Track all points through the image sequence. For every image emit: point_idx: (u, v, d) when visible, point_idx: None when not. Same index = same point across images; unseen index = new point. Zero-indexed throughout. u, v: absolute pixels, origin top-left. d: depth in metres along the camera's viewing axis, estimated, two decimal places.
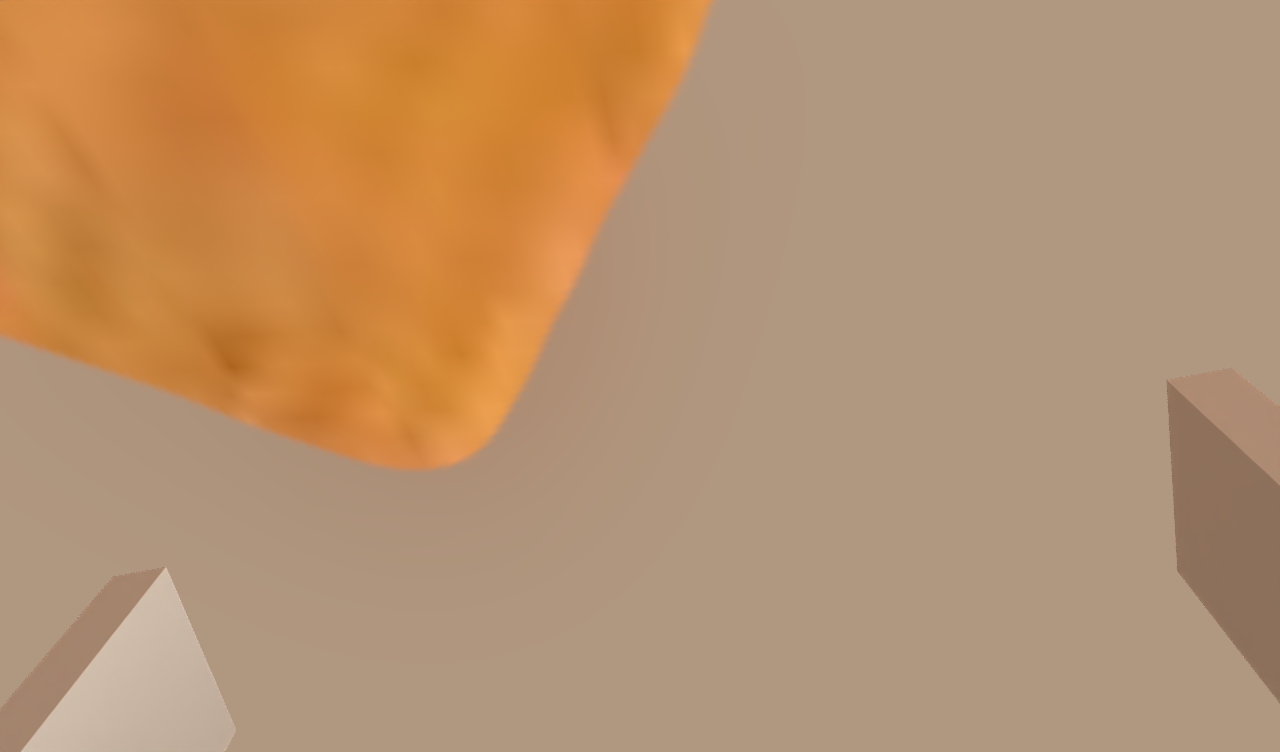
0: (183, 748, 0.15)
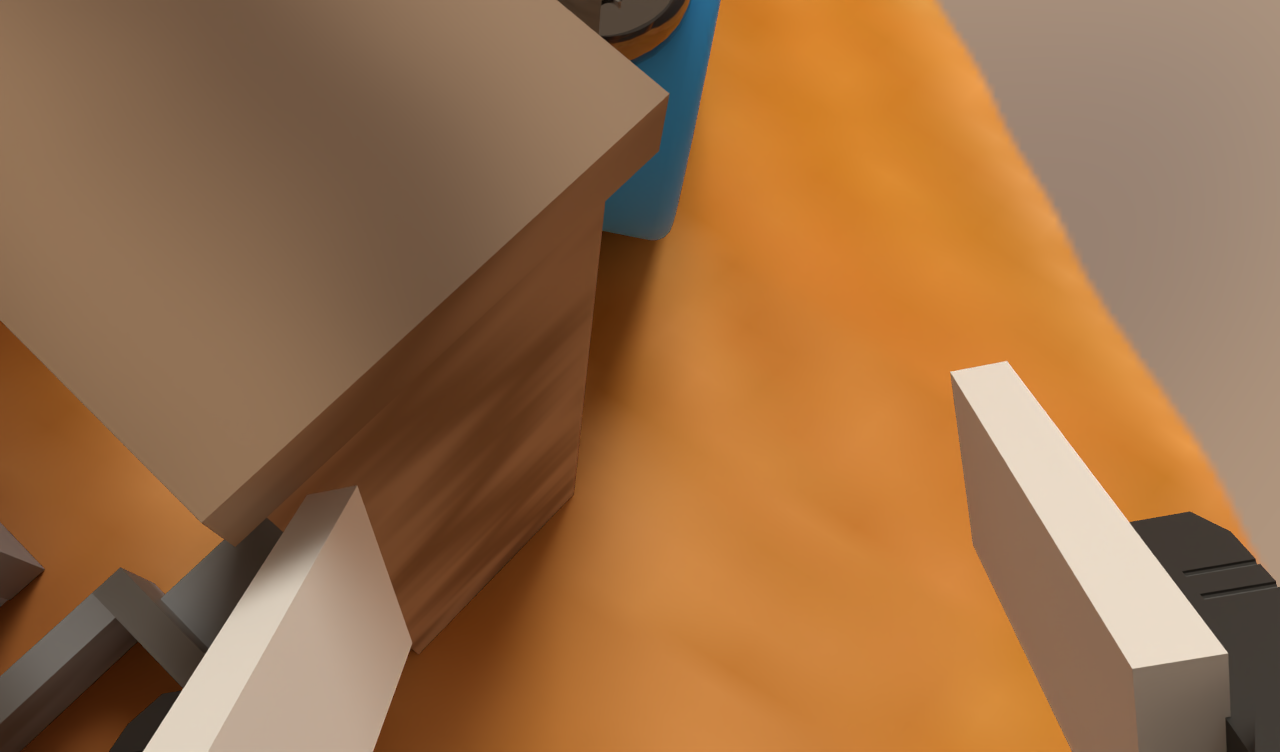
0: (378, 651, 0.16)
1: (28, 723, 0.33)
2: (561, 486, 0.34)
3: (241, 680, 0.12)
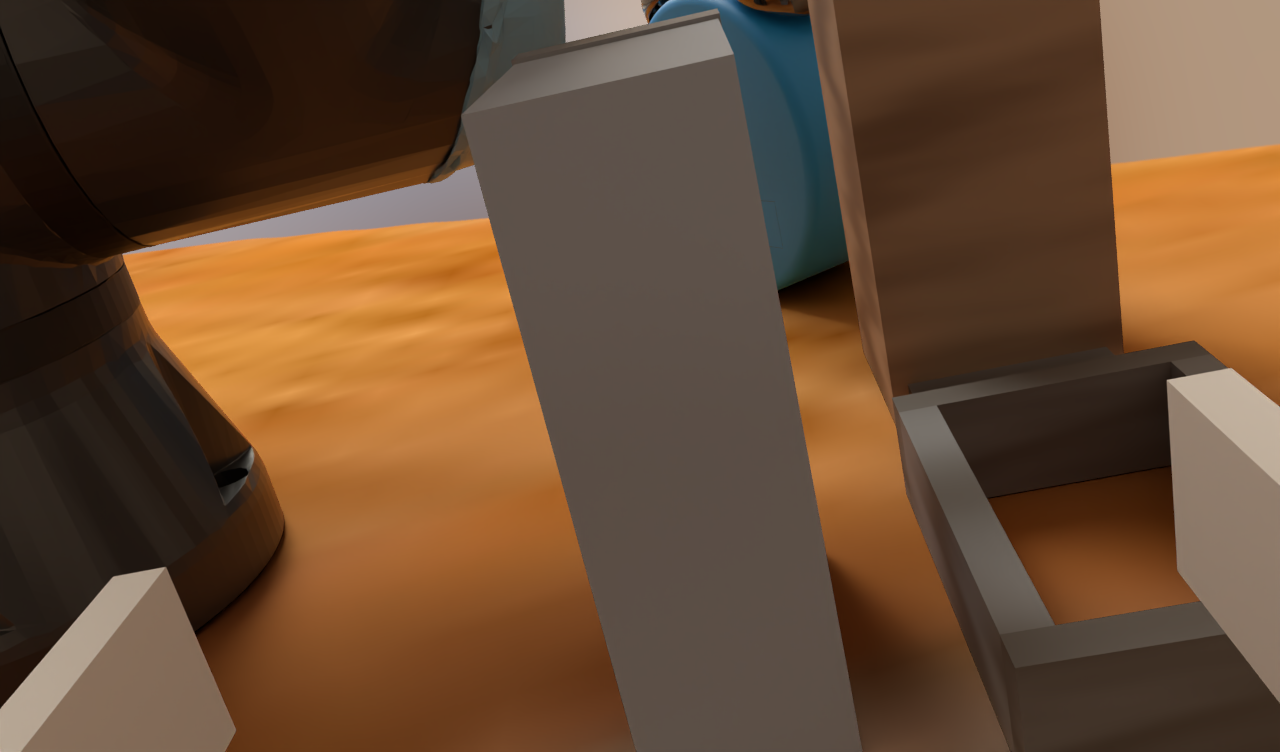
0: (183, 748, 0.15)
1: None
2: None
3: None
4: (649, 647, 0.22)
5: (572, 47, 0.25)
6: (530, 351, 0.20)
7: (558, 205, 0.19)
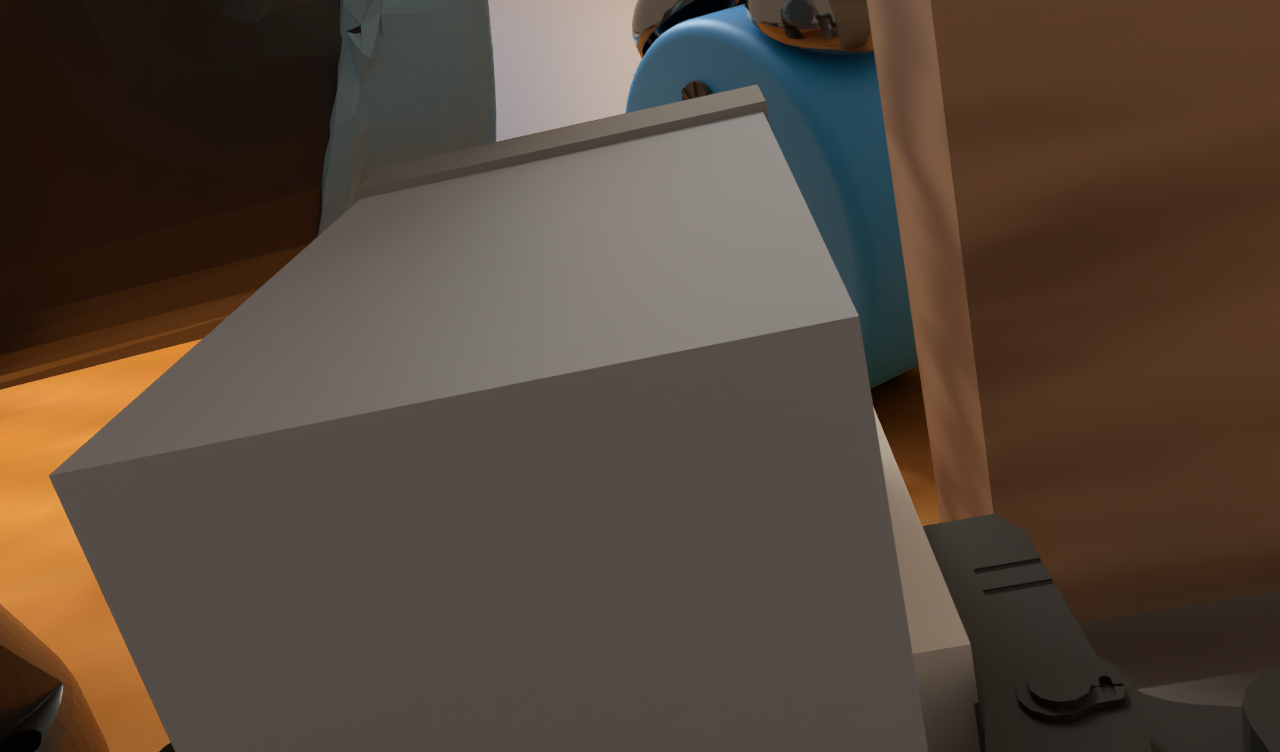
0: None
1: None
2: None
3: None
4: None
5: (473, 166, 0.12)
6: None
7: (350, 702, 0.07)
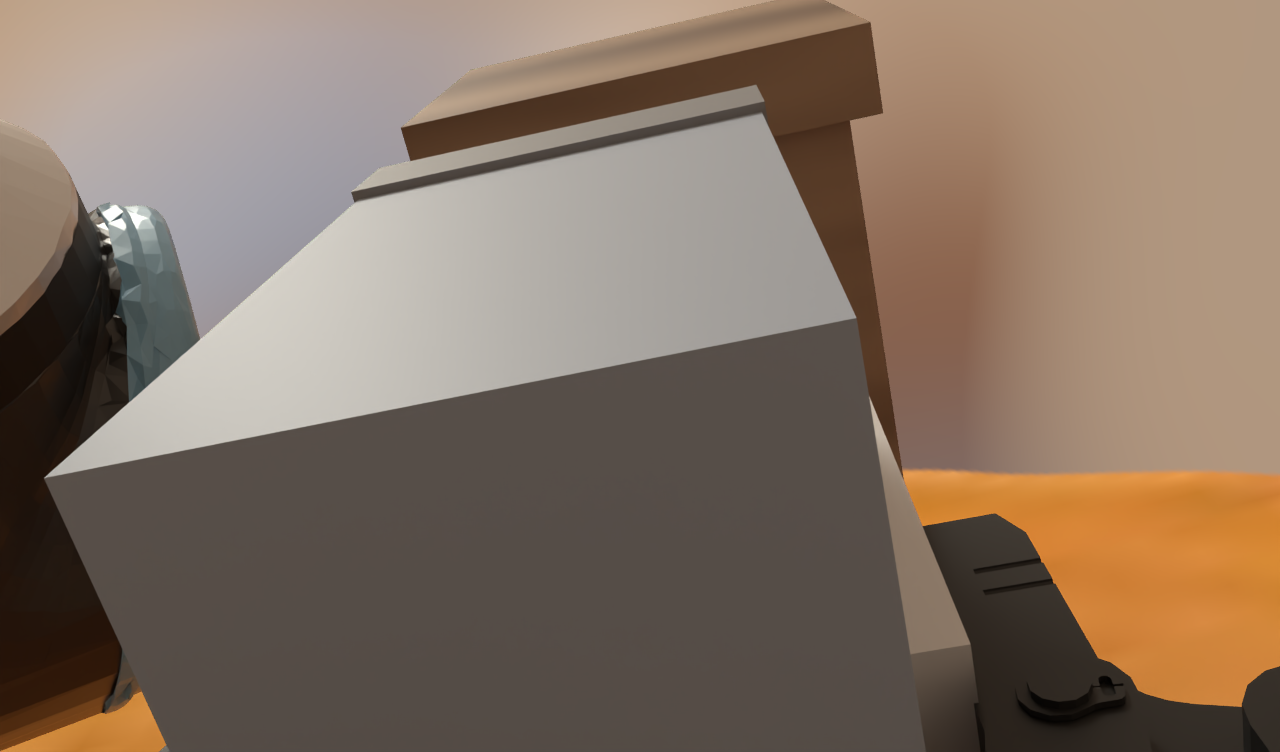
0: None
1: None
2: None
3: None
4: None
5: (472, 167, 0.12)
6: None
7: (348, 705, 0.07)
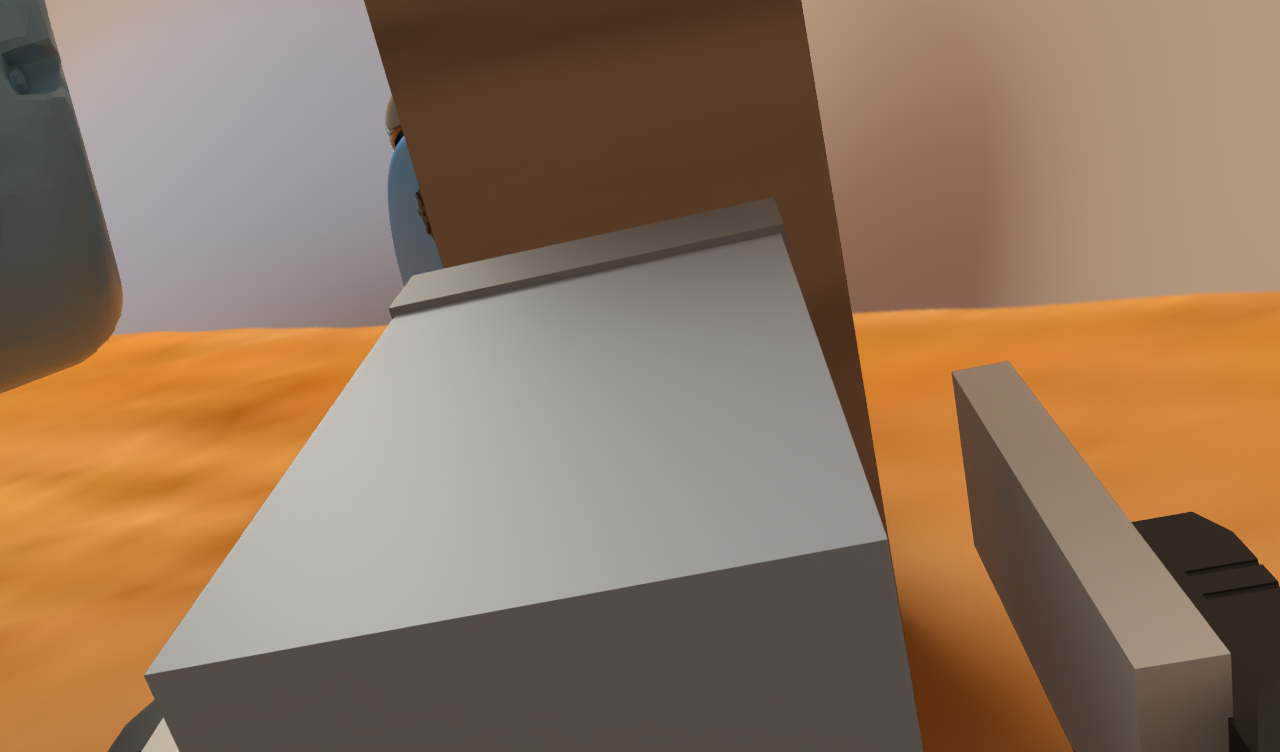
0: None
1: None
2: None
3: None
4: None
5: (504, 284, 0.13)
6: None
7: None
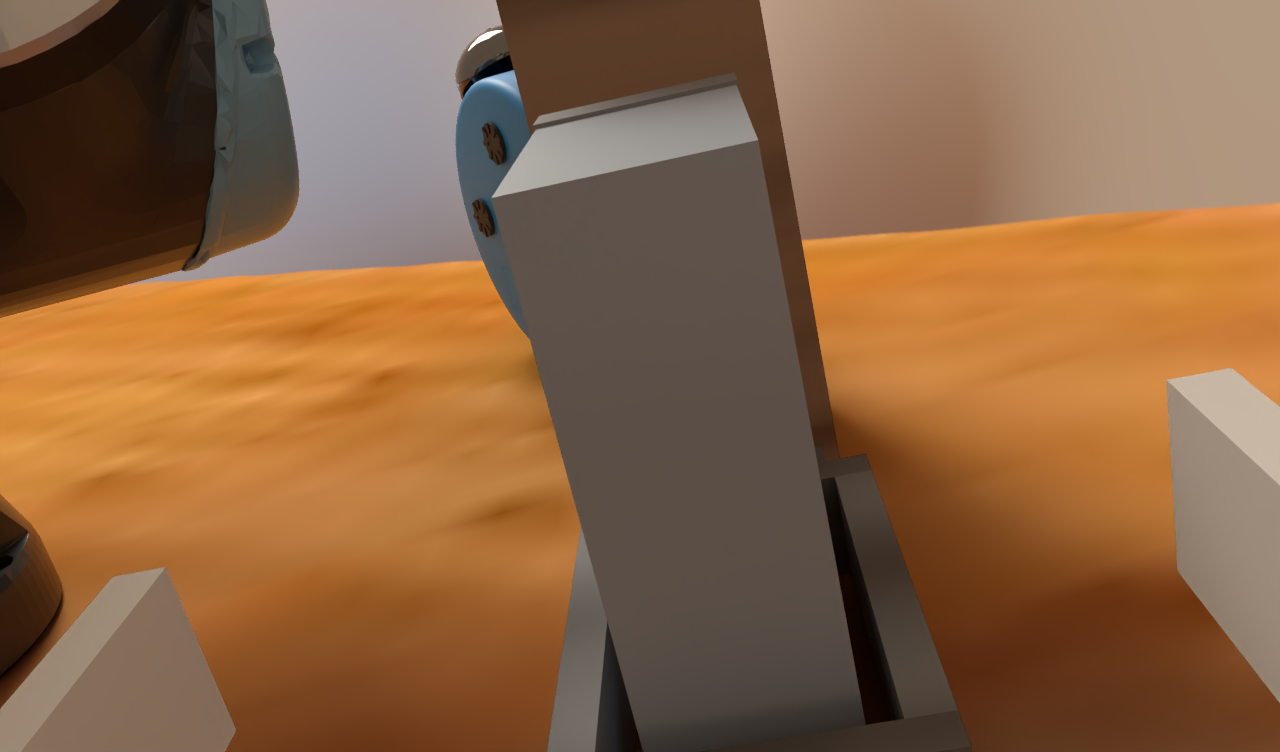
0: (183, 748, 0.15)
1: None
2: None
3: None
4: (672, 707, 0.23)
5: (593, 112, 0.25)
6: (557, 422, 0.20)
7: (585, 284, 0.19)
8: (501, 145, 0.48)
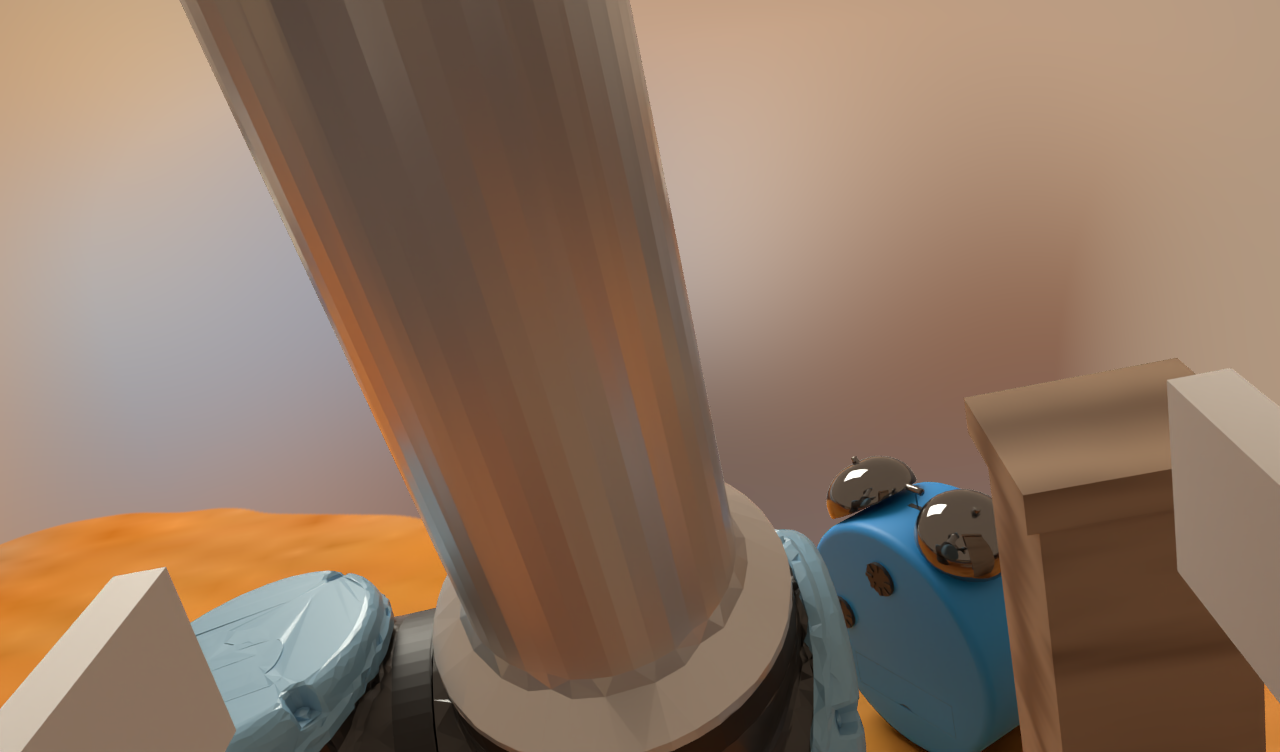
0: (183, 748, 0.15)
1: None
2: None
3: None
4: None
5: None
6: None
7: None
8: (891, 587, 0.56)
